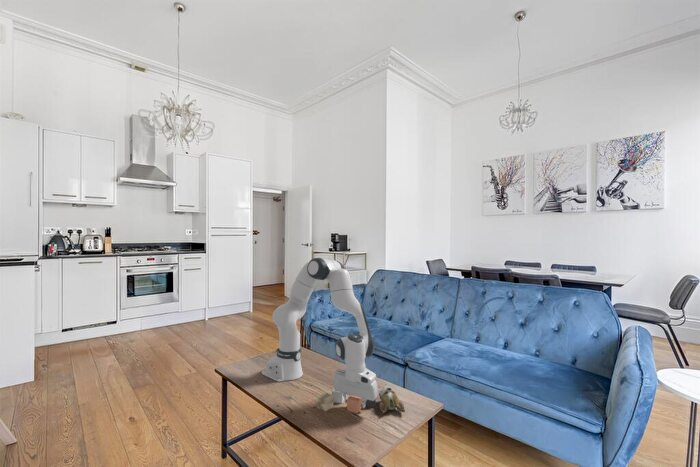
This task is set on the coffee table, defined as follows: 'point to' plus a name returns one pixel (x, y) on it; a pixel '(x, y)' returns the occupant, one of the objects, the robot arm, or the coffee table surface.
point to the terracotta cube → (354, 404)
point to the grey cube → (337, 396)
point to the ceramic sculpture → (389, 400)
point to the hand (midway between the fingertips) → (355, 404)
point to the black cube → (370, 403)
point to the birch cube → (325, 401)
